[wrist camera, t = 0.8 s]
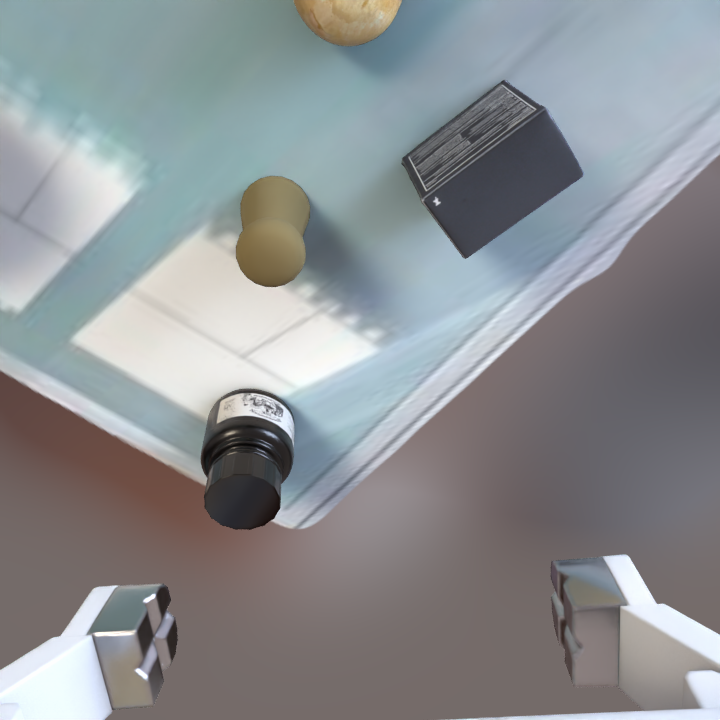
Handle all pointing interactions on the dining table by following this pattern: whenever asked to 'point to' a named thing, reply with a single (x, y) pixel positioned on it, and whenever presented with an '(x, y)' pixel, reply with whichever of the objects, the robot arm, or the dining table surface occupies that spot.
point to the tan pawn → (272, 231)
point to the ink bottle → (247, 457)
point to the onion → (348, 19)
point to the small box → (491, 167)
